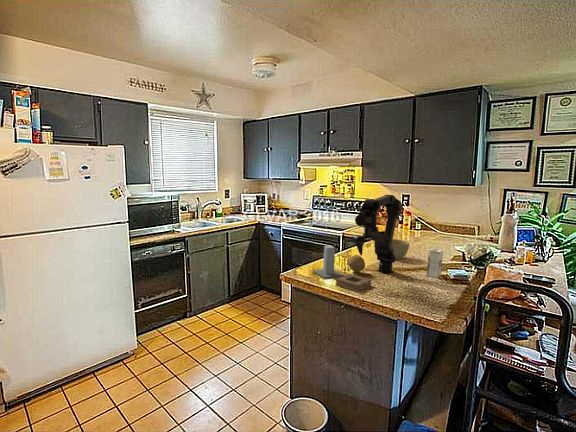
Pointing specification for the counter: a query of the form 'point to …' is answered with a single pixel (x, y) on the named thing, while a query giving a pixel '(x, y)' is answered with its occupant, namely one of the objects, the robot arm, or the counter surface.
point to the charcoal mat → (327, 276)
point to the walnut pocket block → (353, 282)
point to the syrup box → (434, 263)
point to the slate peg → (329, 259)
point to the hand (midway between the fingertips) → (368, 254)
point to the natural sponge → (356, 263)
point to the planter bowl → (400, 248)
